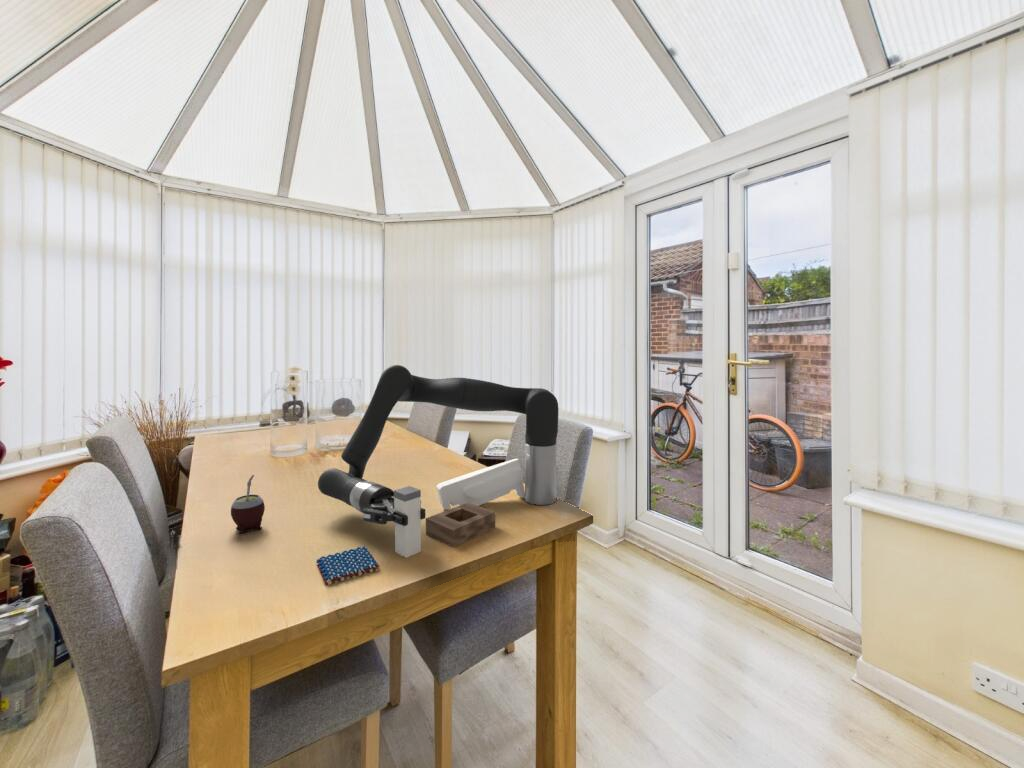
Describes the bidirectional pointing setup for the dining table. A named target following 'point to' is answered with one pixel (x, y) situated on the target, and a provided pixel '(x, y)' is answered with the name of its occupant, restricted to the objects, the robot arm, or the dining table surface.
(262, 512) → the mate gourd
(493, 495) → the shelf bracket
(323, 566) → the woven mat
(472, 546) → the dining table surface
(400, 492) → the grey-capped white post
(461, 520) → the brown square socket block
